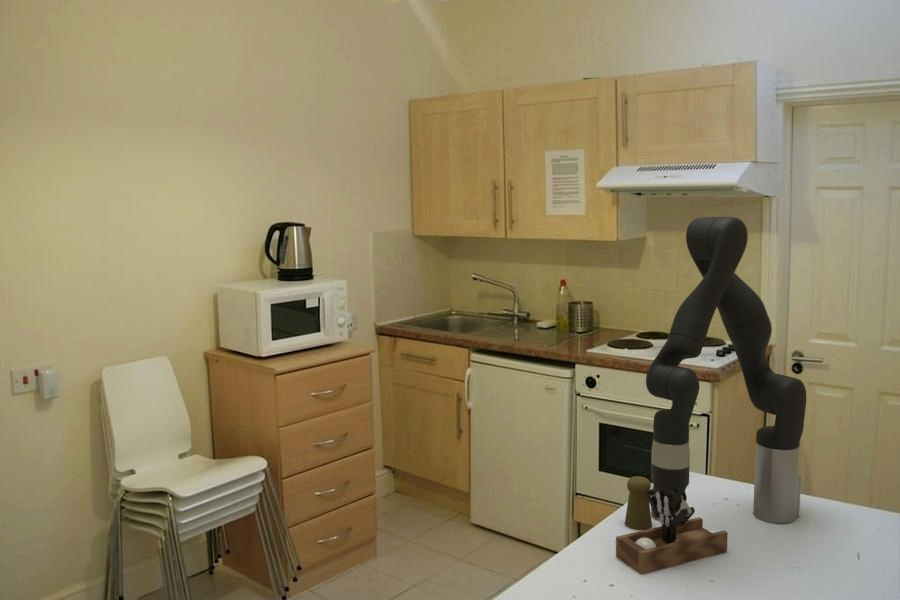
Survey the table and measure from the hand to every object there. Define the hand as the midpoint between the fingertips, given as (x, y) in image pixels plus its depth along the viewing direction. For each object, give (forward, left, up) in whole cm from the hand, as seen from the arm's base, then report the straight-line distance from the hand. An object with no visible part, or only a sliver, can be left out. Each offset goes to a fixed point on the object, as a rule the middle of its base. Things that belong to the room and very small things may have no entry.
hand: (668, 541), depth 163 cm
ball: (+6, 0, -1) cm, 6 cm away
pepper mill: (-4, -15, -3) cm, 16 cm away
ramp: (-1, 0, -3) cm, 3 cm away
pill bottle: (-12, -16, -3) cm, 20 cm away
